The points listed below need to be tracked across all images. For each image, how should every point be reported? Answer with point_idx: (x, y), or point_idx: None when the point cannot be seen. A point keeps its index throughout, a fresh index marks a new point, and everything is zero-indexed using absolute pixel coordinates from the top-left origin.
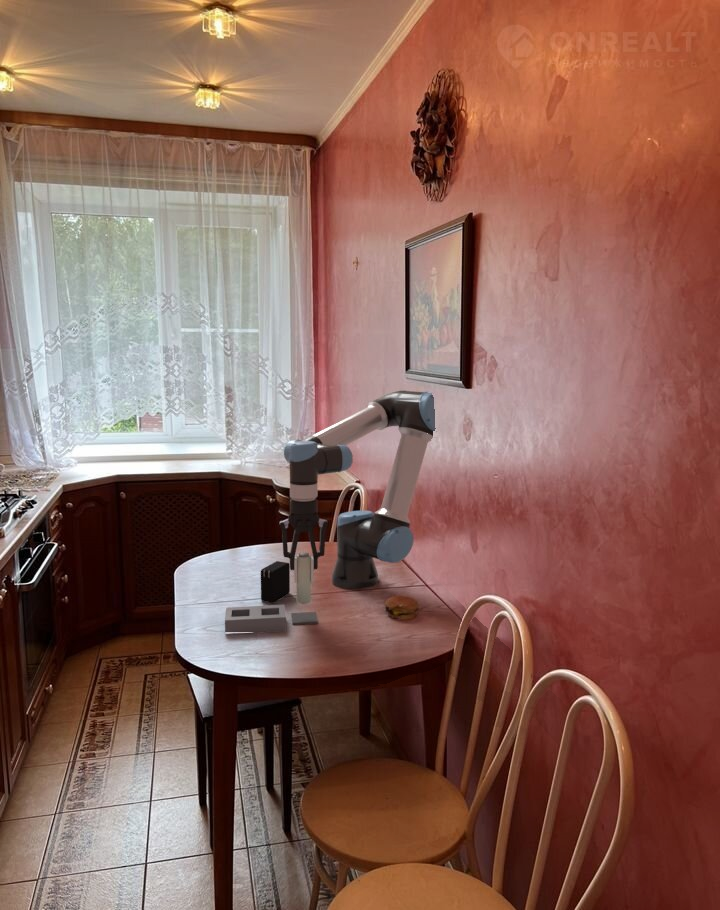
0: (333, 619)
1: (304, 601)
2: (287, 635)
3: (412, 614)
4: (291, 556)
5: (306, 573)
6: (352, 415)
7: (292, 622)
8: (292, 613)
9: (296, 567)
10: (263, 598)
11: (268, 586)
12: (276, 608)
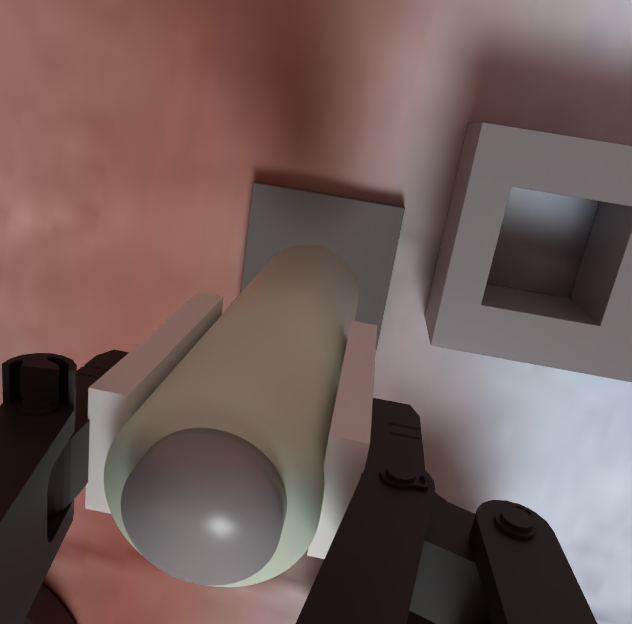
0: (159, 215)
1: (311, 247)
2: (474, 58)
3: None
4: (414, 491)
5: (246, 314)
6: None
7: (402, 217)
8: None
9: (347, 385)
10: None
11: None
12: (496, 307)
